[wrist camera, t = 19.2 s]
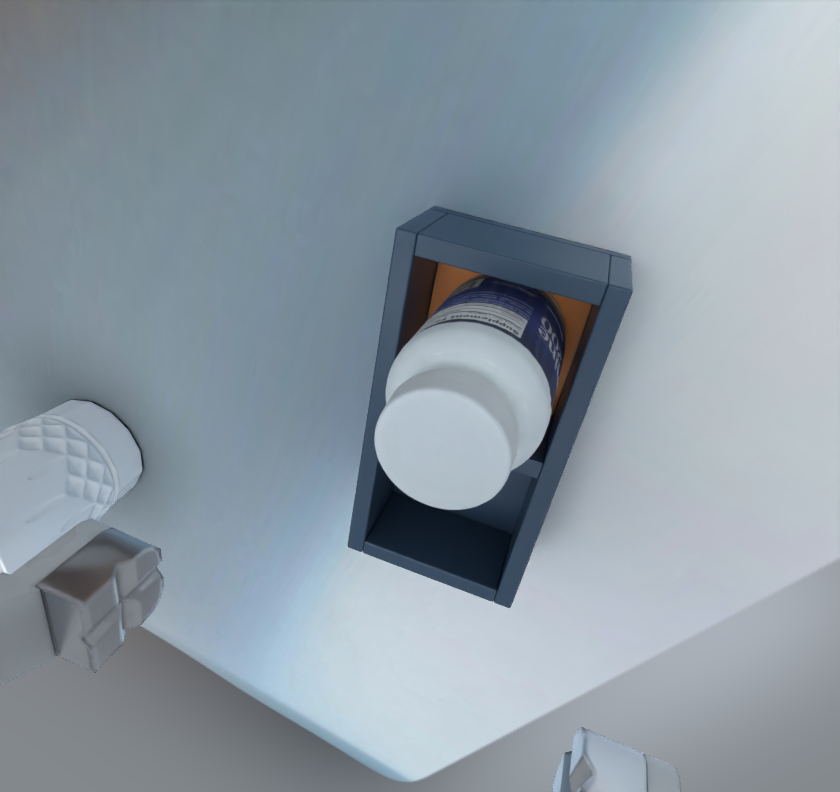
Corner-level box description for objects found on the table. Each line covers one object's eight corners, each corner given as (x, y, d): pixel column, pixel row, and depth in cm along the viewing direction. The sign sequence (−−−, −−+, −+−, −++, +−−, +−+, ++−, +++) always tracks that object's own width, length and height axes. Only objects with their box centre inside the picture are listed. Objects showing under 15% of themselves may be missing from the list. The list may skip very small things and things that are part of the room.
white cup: (95, 372, 34) (-81, 464, 25) (174, 478, 36) (36, 595, 27) (28, 413, 37) (-145, 505, 29) (103, 507, 40) (-38, 618, 31)
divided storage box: (631, 256, 22) (633, 290, 18) (524, 542, 30) (510, 609, 26) (433, 205, 23) (395, 227, 19) (381, 491, 31) (346, 547, 27)
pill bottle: (557, 399, 25) (524, 550, 16) (437, 377, 26) (351, 507, 18) (579, 277, 22) (553, 384, 14) (445, 260, 23) (349, 348, 15)
